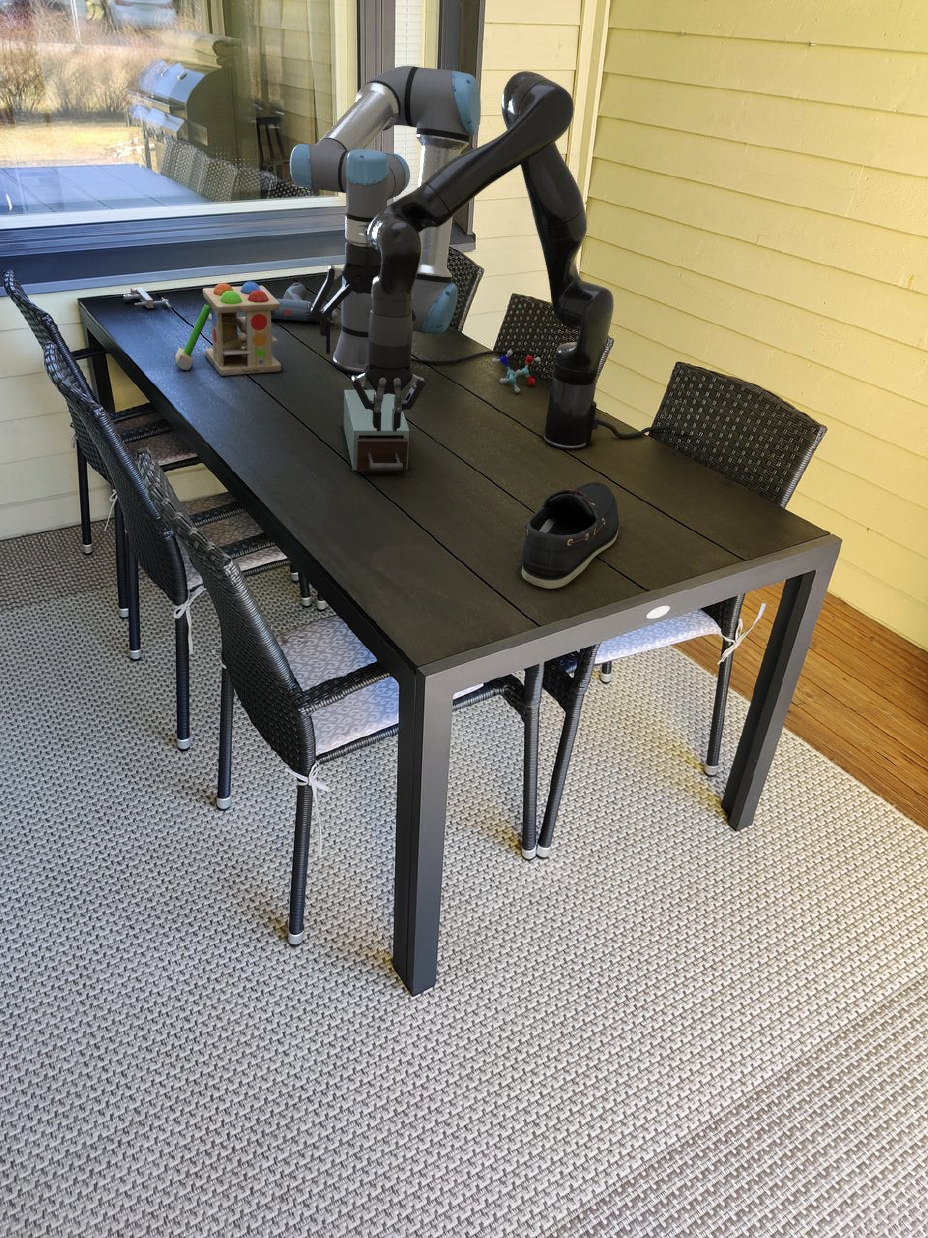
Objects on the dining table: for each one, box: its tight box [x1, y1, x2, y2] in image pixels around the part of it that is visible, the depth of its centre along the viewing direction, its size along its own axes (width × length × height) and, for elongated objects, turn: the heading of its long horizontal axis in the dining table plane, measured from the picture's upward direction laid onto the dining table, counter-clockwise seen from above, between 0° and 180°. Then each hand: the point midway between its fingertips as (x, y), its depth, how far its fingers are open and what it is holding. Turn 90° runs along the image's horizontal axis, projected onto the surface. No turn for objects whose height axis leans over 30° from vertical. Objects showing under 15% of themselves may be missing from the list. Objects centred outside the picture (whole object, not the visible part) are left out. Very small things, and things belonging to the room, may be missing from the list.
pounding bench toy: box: [174, 281, 282, 377], centre depth 225 cm, size 23×14×18 cm, turn 116°
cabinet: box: [343, 389, 410, 471], centre depth 197 cm, size 20×11×8 cm, turn 11°
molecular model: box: [491, 349, 541, 394], centre depth 232 cm, size 12×10×10 cm
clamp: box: [122, 287, 173, 309], centre depth 261 cm, size 15×2×10 cm
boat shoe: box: [520, 481, 620, 590], centre depth 170 cm, size 13×33×10 cm, turn 147°
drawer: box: [356, 435, 409, 473], centre depth 192 cm, size 25×10×6 cm, turn 11°
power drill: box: [271, 282, 338, 322], centre depth 265 cm, size 5×19×20 cm
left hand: (362, 353), depth 195 cm, fingers open, 13 cm apart
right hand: (386, 429), depth 180 cm, fingers closed
